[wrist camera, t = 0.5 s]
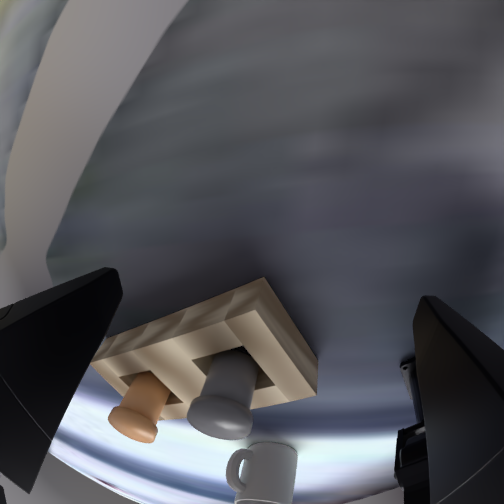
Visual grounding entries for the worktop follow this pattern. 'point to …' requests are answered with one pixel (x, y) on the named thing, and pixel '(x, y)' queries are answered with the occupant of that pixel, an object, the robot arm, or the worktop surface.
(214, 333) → the housing
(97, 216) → the worktop surface
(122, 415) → the mushroom knob terracotta
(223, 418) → the grey mushroom knob
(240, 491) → the cup
